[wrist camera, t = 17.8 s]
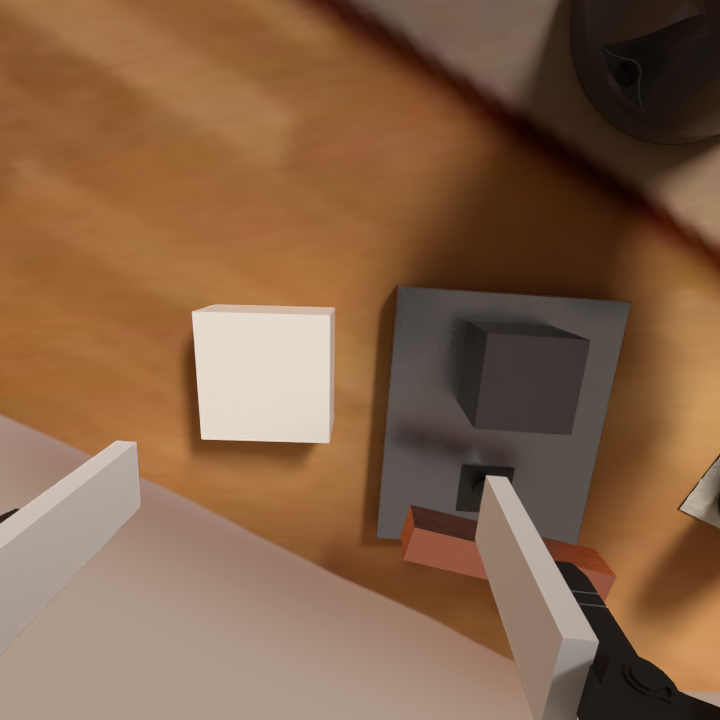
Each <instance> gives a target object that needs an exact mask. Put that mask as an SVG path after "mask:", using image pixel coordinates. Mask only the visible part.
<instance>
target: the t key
mask: <svg viewBox="0 0 720 720" xmlns="http://www.w3.org/2000/svg"><path fill="white" fill-rule="evenodd" d="M484 484H485V480H483V481H480V482H479V483H477V484H476V485H475V487H474V495H475V497H476V500H477V502H478V504H479V506H480V507H481V501H482V495H483V490H484ZM477 524H478V521H476V520H472V519H468V518H463V517H459V516H455V515H451V514H447V513H443V512H439V511H435V510H431V509H427V508H423V507H419V506H415V505H411V504H410V507H409V510H408V513H407V516H406V519H405V522H404V525H403V528H402V531H401V534H400V536H401V544H402V552H403V560H406V561H410V562H414V563H419V564H423V565H427V566H431V567H435V568H439V569H444V570H448V571H452V572H456V573H460V574H465V575H469V576H473V577H477V578H481V579H485V580H488V577H487V574H486V571H485V568H484V565H483V562H482V559H481V556H480V553H479V550H478V547H477V544H476V541H475V535H476V530H477ZM540 537H541V536H540ZM541 539H542V541H543V542H544V544H545V546H546V548H547V550H548V551H549V553H550V555H551V557H552V559H553V560H554V561H562V562H572V563H573V564H574V565H575V566H576V567H578V568H579V569H580V570H581V571H582V572H583V573H584V574H585V575H586V576H587V577H588V578H589V580H590V581H591V583H592V584H593V586H594V587H595V589H596V591H597V594H598V595H600V597H601V598H602V600H603V602H604V601H605V599H606V597H607V595H608V593H609V591H610V589H611V587H612V585H613V583H614V581H615V579H616V575H615V574H614V573H613V571H612V570H611V569H610V568H609V566H608V565H607V564H606V562H605V561H604V560H603V559H602V557H601V556H600V555H599V554H598V552H597V551H596V550H594V549H589V548H585V547H581V546H577V545H573V544H569V543H565V542H561V541H557V540H553V539H549V538H545V537H541Z"/></svg>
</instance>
